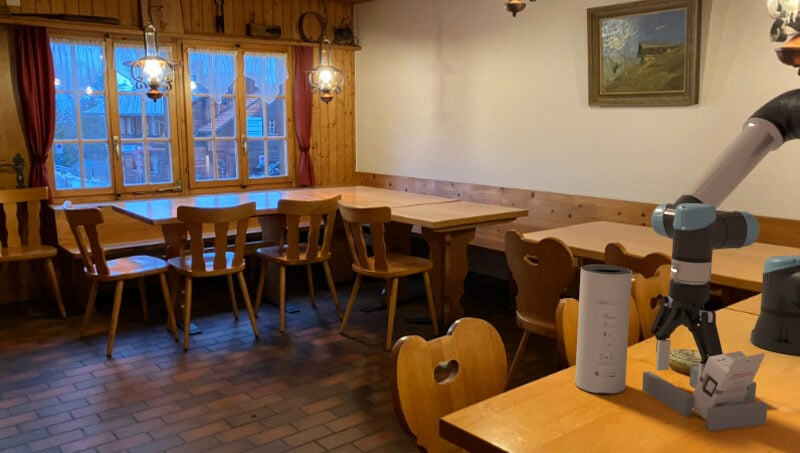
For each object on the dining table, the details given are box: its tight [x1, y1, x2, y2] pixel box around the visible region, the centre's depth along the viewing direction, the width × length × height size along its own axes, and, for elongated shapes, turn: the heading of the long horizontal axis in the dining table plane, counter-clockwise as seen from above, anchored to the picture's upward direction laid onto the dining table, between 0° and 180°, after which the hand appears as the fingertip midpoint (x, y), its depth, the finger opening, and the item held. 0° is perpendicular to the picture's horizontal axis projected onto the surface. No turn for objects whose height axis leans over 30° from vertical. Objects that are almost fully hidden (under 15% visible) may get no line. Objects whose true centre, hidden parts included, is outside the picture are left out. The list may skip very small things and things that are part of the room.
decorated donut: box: [669, 348, 708, 375], centre depth 157 cm, size 10×11×4 cm
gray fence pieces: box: [641, 367, 768, 432], centre depth 137 cm, size 18×21×4 cm
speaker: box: [574, 264, 633, 396], centre depth 145 cm, size 11×10×26 cm
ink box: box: [691, 350, 766, 421], centre depth 129 cm, size 9×5×15 cm, turn 115°
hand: (682, 381), depth 141 cm, fingers open, 13 cm apart
